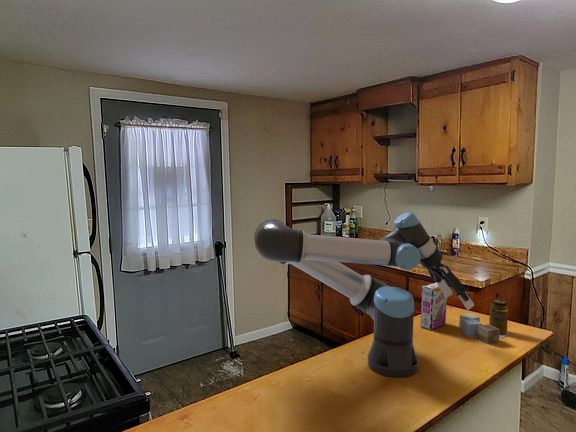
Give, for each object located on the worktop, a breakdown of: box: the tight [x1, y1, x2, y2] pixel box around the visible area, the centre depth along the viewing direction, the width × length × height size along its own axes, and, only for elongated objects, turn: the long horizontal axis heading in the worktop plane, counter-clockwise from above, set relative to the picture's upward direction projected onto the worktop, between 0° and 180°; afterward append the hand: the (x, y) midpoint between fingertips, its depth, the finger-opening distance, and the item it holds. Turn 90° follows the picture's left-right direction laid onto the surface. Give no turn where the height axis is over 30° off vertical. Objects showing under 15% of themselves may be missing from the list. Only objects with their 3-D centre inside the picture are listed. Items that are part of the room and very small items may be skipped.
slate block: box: [461, 319, 483, 338], centre depth 144 cm, size 5×5×5 cm
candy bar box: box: [419, 282, 448, 331], centre depth 153 cm, size 11×5×16 cm, turn 130°
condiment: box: [488, 299, 511, 339], centre depth 146 cm, size 7×8×12 cm
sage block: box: [458, 312, 481, 329], centre depth 151 cm, size 5×5×5 cm
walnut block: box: [476, 323, 500, 345], centre depth 139 cm, size 5×5×5 cm
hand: (459, 301), depth 135 cm, fingers open, 13 cm apart
